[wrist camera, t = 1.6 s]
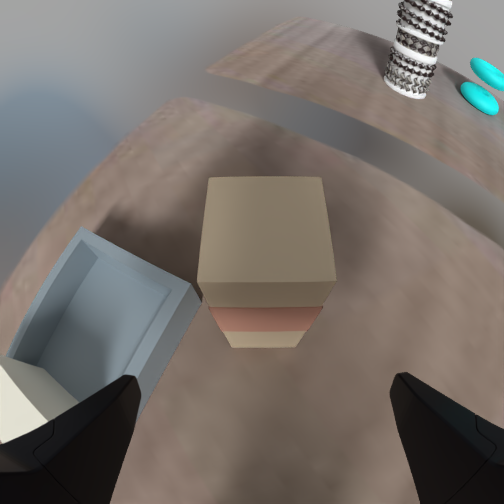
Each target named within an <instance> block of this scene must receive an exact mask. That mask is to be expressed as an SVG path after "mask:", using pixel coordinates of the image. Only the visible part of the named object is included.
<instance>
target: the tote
mask: <svg viewBox="0 0 504 504" xmlns="http://www.w3.org/2000/svg"><path fill="white" fill-rule="evenodd" d="M201 303H202V302H201V300H200V299H199V297H198V295H197V293H196V292H195V290H194V288H193V286H192V285H191V283H189V282H187V281H184V280H182V279H180V278H178V277H176V276H174V275H172V274H170V273H168V272H166V271H164V270H162V269H160V268H158V267H156V266H154V265H152V264H150V263H149V262H147V261H145V260H143V259H141V258H139V257H137V256H135V255H133V254H131V253H129V252H127V251H126V250H124V249H122V248H120V247H118V246H116V245H114V244H112V243H111V242H109V241H107V240H105V239H103V238H101V237H100V236H98V235H96V234H94V233H92V232H91V231H89V230H87V229H85V228H83V227H82V226H81V227H80V229H79V230H78V232H77V233H76V234H75V236H74V237H73V239H72V240H71V241H70V243H69V244H68V246H67V247H66V249H65V250H64V252H63V253H62V255H61V256H60V258H59V259H58V261H57V262H56V264H55V265H54V267H53V269H52V270H51V272H50V273H49V275H48V277H47V278H46V280H45V281H44V283H43V285H42V286H41V288H40V290H39V292H38V293H37V295H36V297H35V299H34V300H33V302H32V304H31V306H30V308H29V309H28V311H27V313H26V315H25V317H24V319H23V321H22V323H21V325H20V327H19V329H18V331H17V333H16V335H15V337H14V339H13V341H12V343H11V345H10V347H9V350H8V352H7V354H6V357H9V358H12V359H15V360H18V361H21V362H24V363H27V364H30V365H33V366H37V367H40V368H43V369H45V370H46V371H47V372H48V373H49V374H50V375H51V376H52V377H53V378H54V379H55V380H56V381H57V382H58V383H59V384H60V385H61V386H62V387H63V388H64V389H65V390H66V391H67V392H68V393H70V394H71V395H72V396H73V397H74V398H75V399H76V400H77V401H78V402H81V401H83V400H84V399H86V398H88V397H89V396H91V395H92V394H94V393H96V392H97V391H99V390H100V389H102V388H104V387H105V386H107V385H108V384H110V383H111V382H113V381H114V380H116V379H118V378H119V377H121V376H122V375H124V374H128V375H134V376H136V378H137V381H138V384H139V387H140V390H141V401H140V406H139V410H138V414H137V419H136V422H137V420H138V418H139V416H140V414H141V412H142V410H143V409H144V407H145V405H146V403H147V401H148V399H149V397H150V395H151V394H152V392H153V390H154V388H155V386H156V384H157V383H158V381H159V379H160V377H161V375H162V373H163V372H164V370H165V368H166V366H167V364H168V362H169V361H170V359H171V357H172V355H173V353H174V351H175V350H176V348H177V346H178V344H179V342H180V341H181V339H182V337H183V335H184V333H185V332H186V330H187V328H188V326H189V324H190V323H191V321H192V319H193V317H194V316H195V314H196V312H197V310H198V308H199V307H200V305H201ZM135 424H136V423H135Z"/></svg>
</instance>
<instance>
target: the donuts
mask: <svg viewBox="0 0 504 504" xmlns="http://www.w3.org/2000/svg"><path fill="white" fill-rule="evenodd" d="M470 65H471V68H472V70H473V71H474V73H475V74H476V75H477V76H478V77H479V78H480V79H481V80H483V81H484V82H485V83H487V84H488V85H490V86H491V87H493V88H495V89H497V90H500V91H504V74H503V73H501V72H500V71H499V70H498V69H497V68H495V67H494V66H492V65H491V64H489V63H488V62H486V61H484V60H482V59H479V58H472V59H471V62H470ZM461 93H462V95H463V96H464V97H465V99H466V100H467V101H468V102H469V103H471V104H472V105H473V106H474V107H476V108H477V109H479V110H480V111H482V112H484V113H486V114H488V115H495V114H497V113H498V110H499V107H498V103H497V101H496V100H495V98H494V97H493V96H492V95H491V94H490V93H489V92H488V91H487V90H486V89H484V88H483V87H481V86H479V85H478V84H475V83H472V82H464V83H463V84H462V85H461Z"/></svg>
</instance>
